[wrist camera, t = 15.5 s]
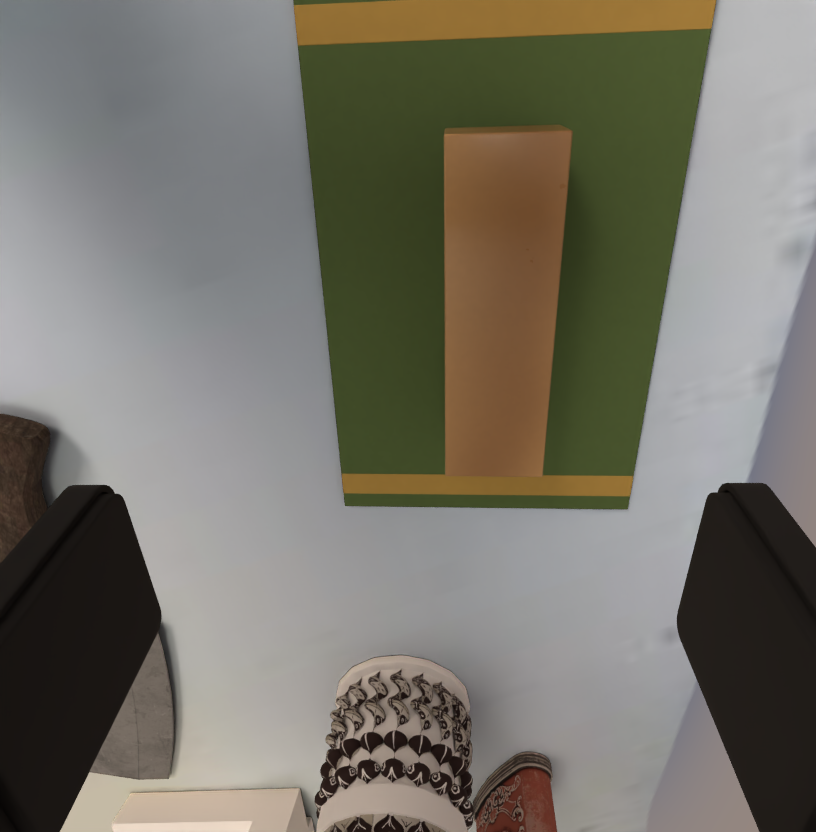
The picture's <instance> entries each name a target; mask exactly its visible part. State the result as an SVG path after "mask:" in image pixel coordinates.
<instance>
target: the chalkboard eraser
mask: <svg viewBox="0 0 816 832" xmlns="http://www.w3.org/2000/svg"><path fill="white" fill-rule="evenodd" d="M572 136H573V132H572V130H570V129H568V128H566V127H564V126H562V125H530V126H498V127H466V128H446V129H445V131H444V306H445V475H446V476H487V477H542V476H543V466H544V454H545V443H546V432H547V420H548V409H549V398H550V386H551V375H552V363H553V352H554V341H555V329H556V318H557V307H558V295H559V284H560V272H561V261H562V250H563V238H564V227H565V215H566V204H567V193H568V181H569V170H570V159H571V147H572Z"/></svg>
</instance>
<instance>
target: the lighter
mask: <svg viewBox="0 0 816 832" xmlns="http://www.w3.org/2000/svg"><path fill="white" fill-rule="evenodd" d="M552 777H553V776H552V769H551V763H550V761H549V759H548V758H546V757H545V756H543V755H541V754H538V753H534V752H524V753H520V754H518V755H515V756H514V757H513V758H511V759H510V760H509V761H507V762H506V763H505V764H503V765H502V766H501V767H499V768H498V769H497V770H496V771H495V772H494V773H493V774H492V775H491V776H490V777H489V778H488V779H487V781H486V782H485V783H484V785H483V786H482V787H481V789H480V790H479V792H478V794H477V796H476V798H475V800H474V802H473V809H474V812H473V818H474V820H475V822H476V826H477V832H557V828H556V820H555V813H554V806H553V799H552V791H551V784H550V782H551V780H552Z"/></svg>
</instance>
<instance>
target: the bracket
mask: <svg viewBox="0 0 816 832" xmlns="http://www.w3.org/2000/svg"><path fill="white" fill-rule="evenodd" d="M111 826H112V829H113V832H314V827H313V822H312V817H306V815H305V811H304V806H303V801H302V796H301V791H300V788H288V789H254V790H220V791H185V792H151V793H130V795H129V796H128V798H127V800H126V801H125V803H124V804H123V806H122V807H121V809H120V811H119V812H118V814H117V815H116V817H115V818H114V820H113V822H112V823H111Z"/></svg>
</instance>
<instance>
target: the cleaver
mask: <svg viewBox="0 0 816 832" xmlns="http://www.w3.org/2000/svg"><path fill="white" fill-rule="evenodd" d="M49 445H50V432H49V430H48V428H47V427H46V426H45V425H43V424H40V423H38V422H35V421H31V420H28V419H24V418H20V417H15V416H11V415H6V414H0V563H1V562H2V561H3V560H4V559H5V557H6V556H7V555H8V554H9V553H10V552H11V550H12V549H13V548H14V547H15V546H16V545H17V544H18V542H19V541H20V540H21V539H22V538H23V537H24V536H25V534H26V533H27V532H28V531H29V530H30V529H31V528H32V526H33V525H34V524H35V523H36V522H37V521H38V520H39V518H40V517H41V516H42V515H43V514H44V513H45V512H46V510H47V505H46V502H45V499H44V496H43V492H42V479H41V477H42V472H43V467H44V463H45V458H46V455H47V452H48V448H49ZM173 745H174V713H173V702H172V692H171V686H170V680H169V674H168V669H167V665H166V660H165V656H164V652H163V648H162V644H161V640H160V637H159V633H158V634H157V636H156V638H155V640H154V642H153V644H152V646H151V648H150V650H149V652H148V654H147V656H146V658H145V660H144V662H143V664H142V666H141V668H140V670H139V672H138V674H137V676H136V678H135V680H134V682H133V684H132V686H131V688H130V690H129V692H128V694H127V696H126V698H125V701H124V703H123V705H122V707H121V709H120V711H119V713H118V715H117V717H116V719H115V721H114V723H113V725H112V727H111V729H110V731H109V733H108V735H107V737H106V739H105V741H104V743H103V745H102V747H101V749H100V751H99V753H98V755H97V757H96V759H95V761H94V763H93V765H92V767H91V769H90V772H93V773H99V774H106V775H112V776H119V777H125V778H132V779H138V780H140V779H169V775H170V769H171V763H172V754H173Z"/></svg>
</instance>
